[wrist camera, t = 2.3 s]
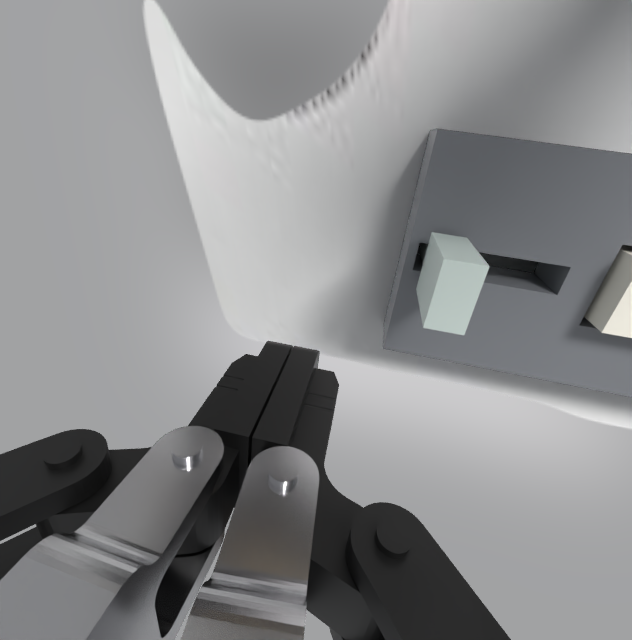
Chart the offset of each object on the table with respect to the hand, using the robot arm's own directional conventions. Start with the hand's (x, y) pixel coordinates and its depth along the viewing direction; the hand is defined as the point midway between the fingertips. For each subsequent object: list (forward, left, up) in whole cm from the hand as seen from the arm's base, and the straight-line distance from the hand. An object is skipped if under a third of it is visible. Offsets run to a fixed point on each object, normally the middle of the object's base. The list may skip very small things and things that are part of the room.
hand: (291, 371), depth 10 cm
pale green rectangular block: (0, +6, -18) cm, 19 cm away
